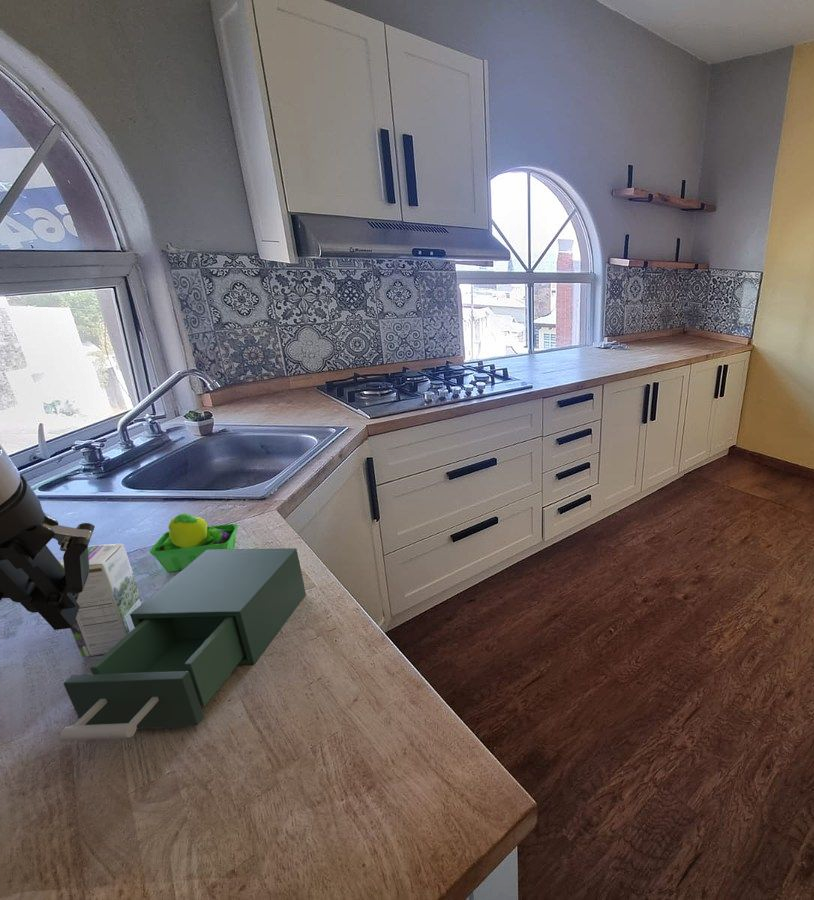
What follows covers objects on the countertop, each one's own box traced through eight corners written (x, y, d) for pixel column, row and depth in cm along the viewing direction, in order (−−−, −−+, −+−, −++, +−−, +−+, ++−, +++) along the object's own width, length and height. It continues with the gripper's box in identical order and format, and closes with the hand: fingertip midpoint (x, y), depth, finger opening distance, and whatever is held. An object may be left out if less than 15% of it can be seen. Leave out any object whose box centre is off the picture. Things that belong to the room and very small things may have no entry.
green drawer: (168, 765, 55) (149, 715, 52) (44, 771, 54) (18, 721, 51) (264, 639, 73) (253, 598, 70) (172, 642, 72) (158, 600, 69)
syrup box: (103, 631, 74) (69, 547, 69) (152, 623, 76) (123, 540, 71) (81, 658, 69) (44, 570, 64) (135, 649, 71) (102, 562, 66)
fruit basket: (244, 545, 97) (231, 493, 93) (230, 570, 89) (215, 515, 85) (173, 554, 93) (156, 500, 89) (152, 582, 86) (132, 524, 82)
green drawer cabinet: (254, 664, 69) (240, 611, 66) (149, 668, 68) (129, 614, 65) (306, 594, 84) (296, 548, 81) (220, 596, 83) (206, 549, 79)
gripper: (77, 458, 48) (147, 582, 63) (-133, 462, 42) (1, 596, 58) (49, 523, 43) (132, 638, 59) (-190, 536, 38) (-28, 660, 53)
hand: (67, 617), depth 58 cm, fingers closed
